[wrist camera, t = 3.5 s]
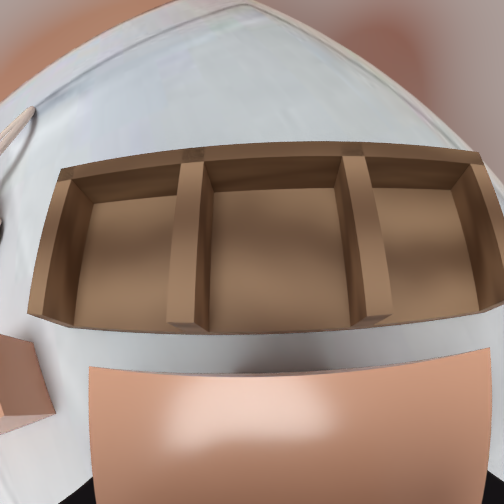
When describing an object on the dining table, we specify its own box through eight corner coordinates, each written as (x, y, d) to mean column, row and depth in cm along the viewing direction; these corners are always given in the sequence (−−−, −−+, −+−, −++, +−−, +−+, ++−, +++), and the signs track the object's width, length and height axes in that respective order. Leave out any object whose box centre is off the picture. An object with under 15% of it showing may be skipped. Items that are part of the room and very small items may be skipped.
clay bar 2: (330, 459, 13) (441, 615, 1) (232, 463, 13) (131, 630, 1) (329, 369, 15) (489, 347, 3) (231, 373, 15) (89, 366, 3)
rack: (484, 312, 15) (523, 295, 11) (68, 327, 17) (27, 313, 13) (453, 186, 18) (478, 152, 15) (89, 200, 20) (61, 169, 16)
